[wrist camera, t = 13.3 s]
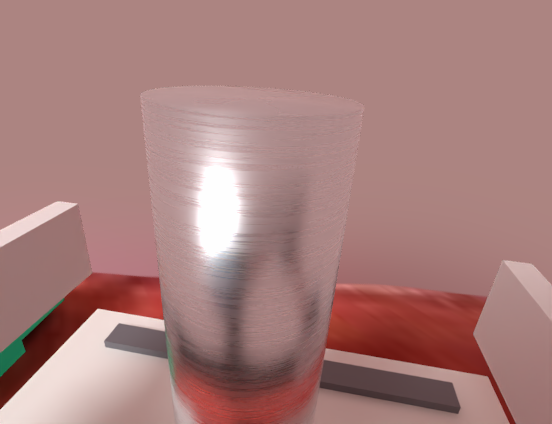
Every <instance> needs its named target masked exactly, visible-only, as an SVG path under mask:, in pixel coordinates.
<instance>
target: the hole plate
mask: <svg viewBox="0 0 552 424" xmlns="http://www.w3.org/2000/svg"><path fill="white" fill-rule="evenodd" d="M0 424H175V419H174V410H173V401H172V391H171V382H170V372H169V363H168V354H167V344H166V335H165V325H164V320H160V319H154V318H149V317H143V316H137V315H131V314H126V313H120V312H114V311H108V310H103V309H97V310H96V311H95V312H94V313H93V314H92V315H91V316H90V317H89V318H88V319H87V320H86V321H85V322H84V323H83V324H82V326H81V327H80V328H79V329H78V330H77V331H76V332H75V333H74V334H73V335H72V336H71V337H70V338H69V339H68V340H67V341H66V342H65V343H64V344H63V345H62V346H61V347H60V348H59V349H58V350H57V351H56V352H55V354H54V355H53V356H52V357H51V358H50V359H49V360H48V361H47V362H46V363H45V364H44V365H43V366H42V367H41V368H40V369H39V370H38V371H37V372H36V373H35V374H34V375H33V376H32V377H31V378H30V379H29V380H28V381H27V383H26V384H25V385H24V386H23V387H22V388H21V389H20V390H19V391H18V392H17V393H16V394H15V395H14V396H13V397H12V398H11V399H10V400H9V401H8V402H7V403H6V404H5V405H4V406H3V407H2V408H1V409H0ZM314 424H509V421H508V419H507V417H506V415H505V413H504V411H503V408H502V406H501V404H500V402H499V400H498V398H497V395H496V393H495V391H494V389H493V387H492V385H491V382H490V380H489V378H488V376H482V375H477V374H471V373H465V372H459V371H454V370H448V369H442V368H436V367H431V366H425V365H419V364H413V363H408V362H402V361H396V360H390V359H385V358H379V357H373V356H367V355H362V354H356V353H350V352H344V351H339V350H333V349H327V348H326V349H325V355H324V362H323V368H322V374H321V380H320V387H319V393H318V399H317V405H316V411H315V418H314Z"/></svg>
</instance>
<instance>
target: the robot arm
mask: <svg viewBox="0 0 552 424" xmlns="http://www.w3.org/2000/svg"><path fill="white" fill-rule="evenodd" d="M91 274H92V269H91V264H90V260H89V254H88V250H87V245H86V240H85V235H84V230H83V225H82V220H81V215H80V211H79V206H78V204H75V203H67V202H60V201H57V202H55V203H53V204H51V205H49V206H47V207H45V208H43V209H41V210H39V211H37V212H35V213H33V214H31V215H29V216H27V217H25V218H23V219H21V220H19V221H17V222H15V223H13V224H11V225H9V226H7V227H5V228H3V229H1V230H0V353H1V352H2V351H3V350H4V349H5V348H6V347H8V346H9V345H10V344H11V343H12V342H13V341H14V340H16V339H17V338H18V337H19V336H20V335H21V334H23V333H24V332H25V331H26V330H27V329H28V328H29V327H31V326H32V325H33V324H34V323H35V322H36V321H38V320H39V319H40V318H41V317H42V316H43V315H44V314H46V313H47V312H48V311H49V310H50V309H51V308H52V307H54V306H55V305H56V304H57V303H58V302H59V301H61V300H62V299H63V298H64V297H65V296H66V295H67V294H69V293H70V292H71V291H72V290H73V289H74V288H76V287H77V286H78V285H79V284H80V283H81V282H82V281H84V280H85V279H86V278H87V277H88V276H89V275H91ZM473 335H474V337H475V339H476V341H477V344H478V346H479V348H480V350H481V352H482V354H483V356H484V358H485V360H486V362H487V364H488V367H489V369H490V371H491V373H492V375H493V377H494V379H495V381H496V383H497V385H498V387H499V390H500V392H501V394H502V396H503V398H504V400H505V402H506V404H507V406H508V408H509V410H510V412H511V415H512V417H513V419H514V421H515V423H516V424H552V285H551V284H550V283H549V282H548V280H546V278H545V277H544V276H543V275H542V274H541V273H540V272H539V271H538V270H537V269H536V268H535V266H534V265H533V264H529V263H522V262H514V261H507V260H502V263H501V265H500V267H499V270H498V272H497V275H496V277H495V280H494V282H493V285H492V288H491V290H490V293H489V295H488V298H487V300H486V303H485V305H484V308H483V310H482V313H481V315H480V318H479V320H478V323H477V325H476V328H475V330H474V333H473Z"/></svg>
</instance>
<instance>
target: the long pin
mask: <svg viewBox="0 0 552 424" xmlns="http://www.w3.org/2000/svg"><path fill="white" fill-rule="evenodd" d="M140 99H141V109H142V118H143V127H144V137H145V146H146V156H147V165H148V174H149V184H150V194H151V203H152V212H153V222H154V231H155V241H156V250H157V259H158V269H159V278H160V288H161V297H162V307H163V316H164V325H165V335H166V344H167V354H168V363H169V372H170V382H171V391H172V401H173V410H174V419H175V424H314V418H315V411H316V405H317V399H318V393H319V387H320V380H321V374H322V368H323V362H324V355H325V349H326V343H327V337H328V331H329V324H330V318H331V312H332V306H333V299H334V293H335V287H336V281H337V274H338V268H339V262H340V256H341V249H342V243H343V237H344V231H345V224H346V219H347V212H348V206H349V200H350V194H351V187H352V181H353V175H354V168H355V162H356V156H357V150H358V143H359V138H360V131H361V125H362V119H363V112H364V105H363V104H361V103H360V102H357V101H355V100H351V99H348V98H343V97H339V96H334V95H328V94H321V93H314V92H306V91H298V90H288V89H276V88H261V87H243V86H179V87H165V88H157V89H151V90H148V91H144V92H142V93H141V94H140Z"/></svg>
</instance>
